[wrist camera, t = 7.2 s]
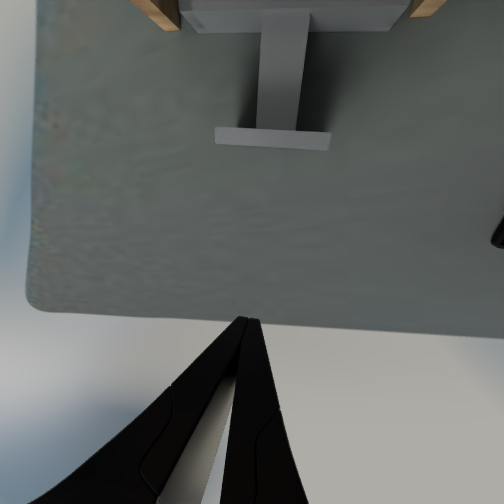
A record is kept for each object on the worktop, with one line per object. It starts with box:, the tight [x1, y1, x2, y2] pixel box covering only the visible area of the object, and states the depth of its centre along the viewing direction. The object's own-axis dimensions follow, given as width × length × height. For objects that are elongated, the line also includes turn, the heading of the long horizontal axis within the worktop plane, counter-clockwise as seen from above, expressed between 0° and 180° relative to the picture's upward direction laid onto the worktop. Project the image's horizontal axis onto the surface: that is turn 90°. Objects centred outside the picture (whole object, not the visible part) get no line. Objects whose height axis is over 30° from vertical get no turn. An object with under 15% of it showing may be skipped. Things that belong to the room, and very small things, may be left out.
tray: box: [179, 0, 410, 151], centre depth 10 cm, size 11×12×4 cm
